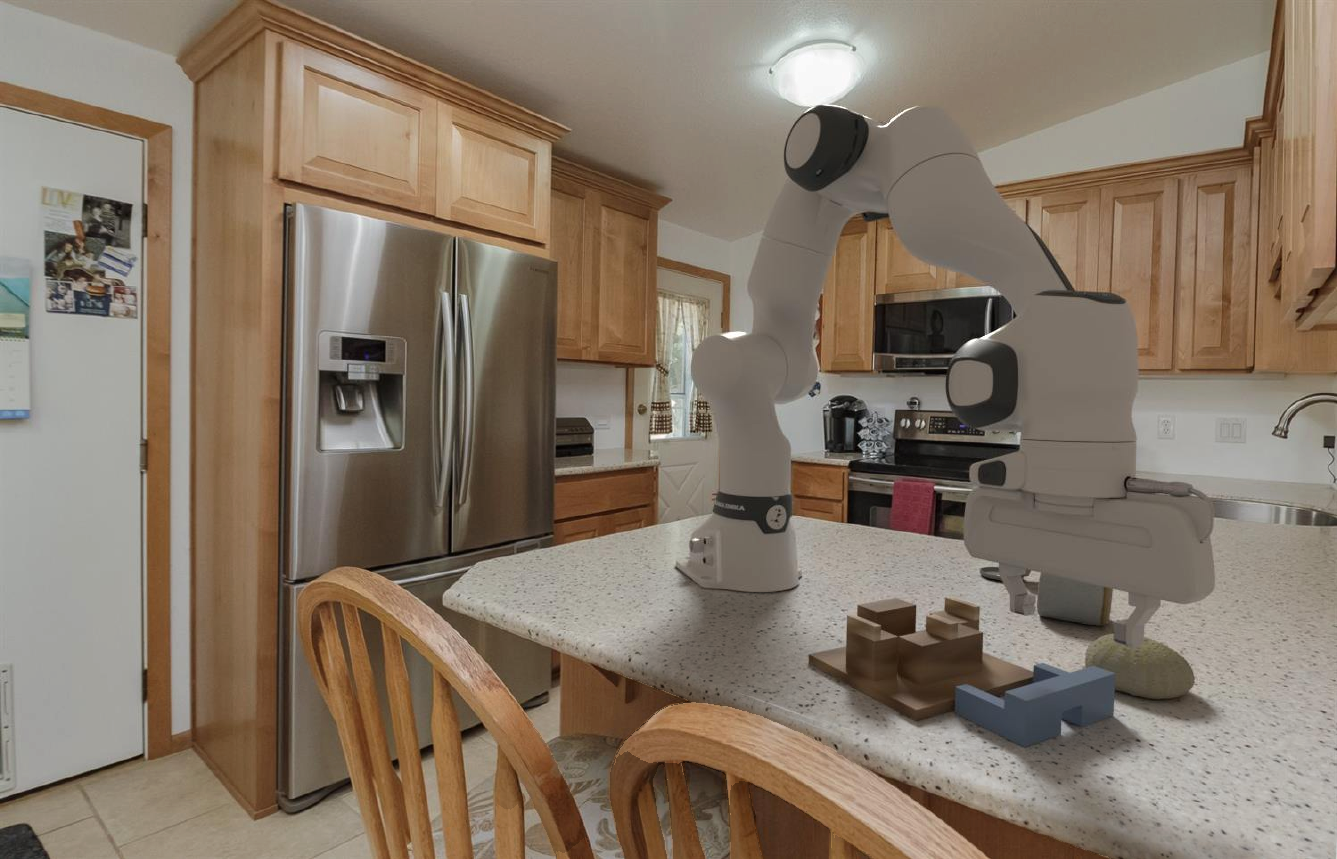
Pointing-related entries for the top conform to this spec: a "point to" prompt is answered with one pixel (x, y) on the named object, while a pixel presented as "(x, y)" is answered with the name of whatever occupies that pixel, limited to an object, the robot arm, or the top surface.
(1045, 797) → the top surface
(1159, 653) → the sea urchin shell
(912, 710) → the stand
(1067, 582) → the ceramic mug
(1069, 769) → the top surface
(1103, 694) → the blue stepped bracket
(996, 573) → the pocket watch
